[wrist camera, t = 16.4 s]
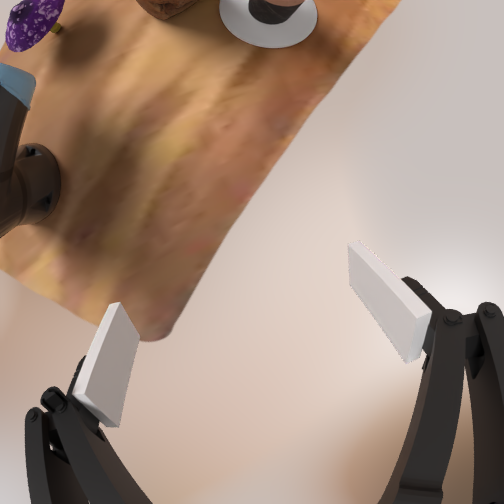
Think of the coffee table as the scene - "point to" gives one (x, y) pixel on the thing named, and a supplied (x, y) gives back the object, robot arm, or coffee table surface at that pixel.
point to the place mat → (264, 34)
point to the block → (165, 7)
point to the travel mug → (273, 10)
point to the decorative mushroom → (32, 22)
